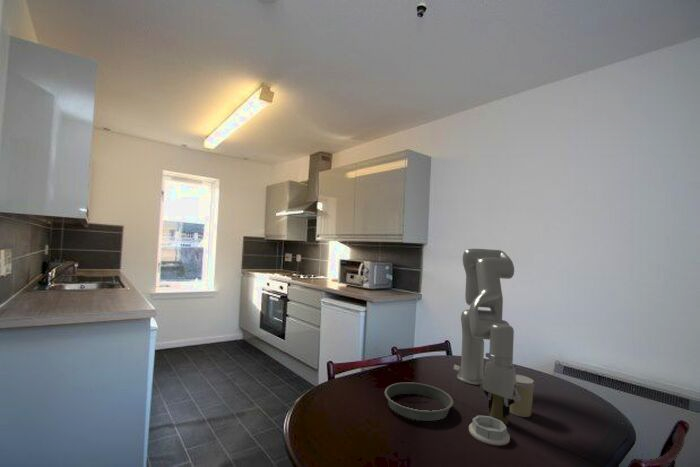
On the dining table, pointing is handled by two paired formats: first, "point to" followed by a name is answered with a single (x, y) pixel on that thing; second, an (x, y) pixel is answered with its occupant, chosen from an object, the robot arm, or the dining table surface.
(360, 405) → the dining table surface
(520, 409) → the cream upright cylinder
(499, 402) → the olive tapered block
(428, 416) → the cake pan
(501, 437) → the ring holder
